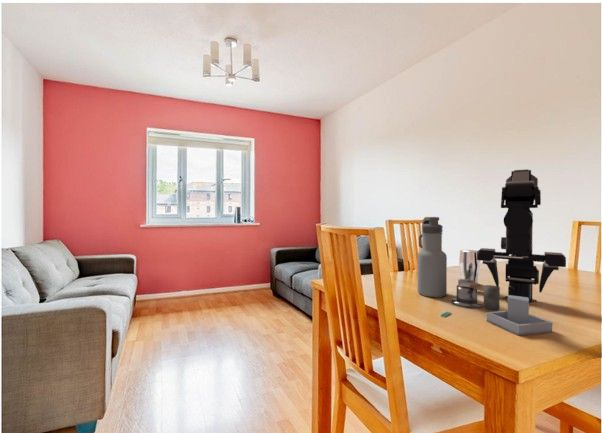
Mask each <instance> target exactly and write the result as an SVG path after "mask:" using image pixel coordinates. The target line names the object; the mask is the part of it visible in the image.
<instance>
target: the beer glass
mask: <svg viewBox="0 0 602 433" xmlns="http://www.w3.org/2000/svg"><path fill="white" fill-rule="evenodd" d="M477 251H478V250H474V249H461V250H459V258H458V259H459V261H458V262H459V271H460V276H461V279H469V280H474V281H476V283H478V282H479V276H480V270H481V260H477ZM478 284H479V283H478ZM479 292H480V290H477V294H478V293H479Z"/></svg>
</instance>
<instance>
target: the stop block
mask: <svg viewBox="0 0 602 433" xmlns="http://www.w3.org/2000/svg"><path fill="white" fill-rule="evenodd" d="M507 296H508V299H507V310H508V319H507V320H509V321H512V322H514V323H517V324H527V323H529V314H530V313H529V312H530V308H529V307H530V302H529V298H528V297H520V296H512V295H508V294H507Z"/></svg>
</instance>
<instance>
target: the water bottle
mask: <svg viewBox="0 0 602 433" xmlns="http://www.w3.org/2000/svg"><path fill="white" fill-rule="evenodd" d="M439 221H440V217H439V216H425V217H424V218H423V219H422V224H421V234H420V235H419V236H418V246H419V248H421V250H419V252H418V253H417V282H416V283H417V285H416V286H417V293H418V294H419V295H421V296H424V297H429V298H442V297H445V296H446V295H447V291H448V290H447V289H448V288H447V284H448V283H447V278H448V277H447V272H448V271H447V264H448V262H447V259H448V257H447V253H446V252H444V251H443V248H442V246H443V245H442V243H443V241H442V237H443V228H444V227H443V225H441V224H439Z"/></svg>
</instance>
